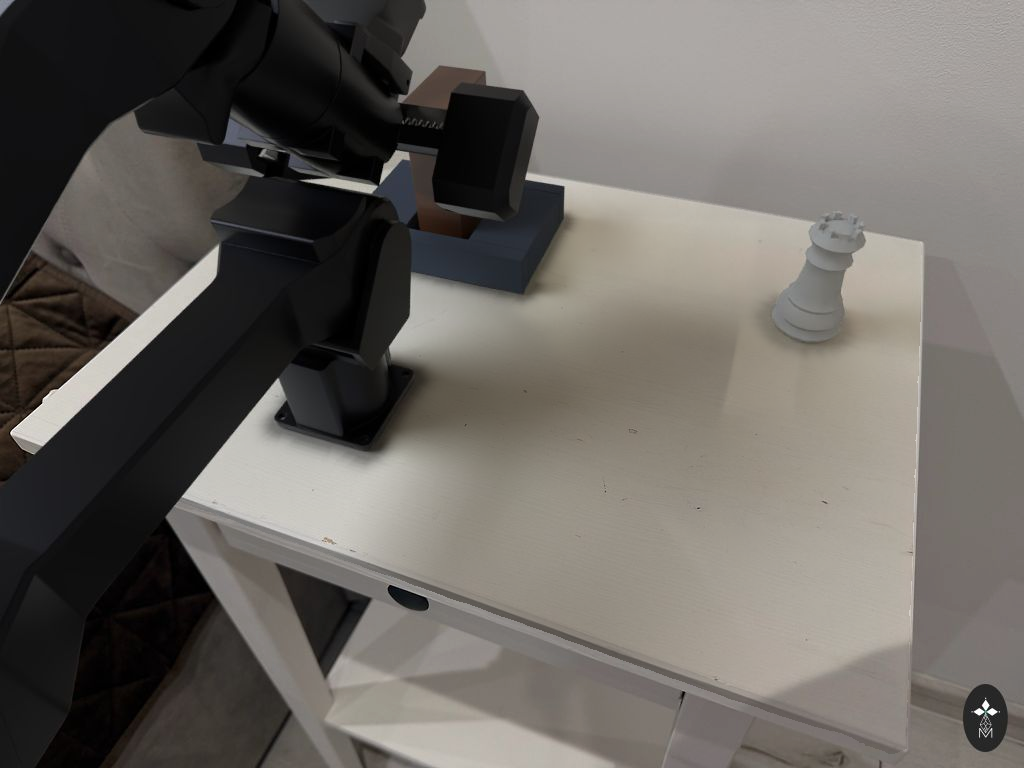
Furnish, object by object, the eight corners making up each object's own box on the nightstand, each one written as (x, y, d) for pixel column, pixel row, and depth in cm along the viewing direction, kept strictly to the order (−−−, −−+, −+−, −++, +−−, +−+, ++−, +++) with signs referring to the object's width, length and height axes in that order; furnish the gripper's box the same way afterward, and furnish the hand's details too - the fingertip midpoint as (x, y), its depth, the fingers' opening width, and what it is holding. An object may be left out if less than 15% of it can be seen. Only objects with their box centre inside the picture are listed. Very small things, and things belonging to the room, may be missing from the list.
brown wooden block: (494, 221, 56) (485, 70, 47) (465, 264, 52) (451, 109, 43) (454, 213, 57) (439, 64, 48) (423, 255, 53) (400, 102, 44)
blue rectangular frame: (523, 295, 50) (522, 261, 47) (350, 258, 53) (342, 225, 51) (563, 218, 56) (564, 185, 54) (407, 190, 59) (402, 158, 57)
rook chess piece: (853, 333, 46) (899, 231, 40) (800, 355, 45) (840, 253, 39) (806, 294, 49) (843, 194, 43) (755, 314, 47) (786, 213, 42)
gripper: (526, -101, 28) (585, 73, 43) (146, -123, 32) (321, 41, 47) (464, 176, 28) (544, 251, 43) (99, 115, 33) (287, 202, 48)
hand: (419, 179), depth 45 cm, fingers open, 9 cm apart
